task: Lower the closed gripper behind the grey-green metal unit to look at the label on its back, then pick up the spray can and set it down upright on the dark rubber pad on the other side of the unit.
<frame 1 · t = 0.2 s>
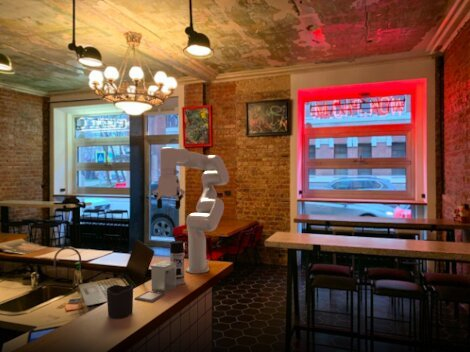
hand: (168, 208, 159), 36 cm above the bar counter, tool pointing down, fingers open, 9 cm apart
pen holder: (120, 314, 125), on the bar counter
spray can: (177, 283, 161), on the bar counter
unit: (164, 289, 152), on the bar counter
pad: (150, 297, 142), on the bar counter
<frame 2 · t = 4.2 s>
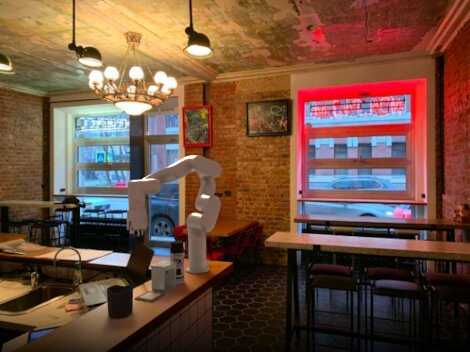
hand: (138, 243, 159), 20 cm above the bar counter, tool pointing down, fingers closed
nothing on the bar counter moved.
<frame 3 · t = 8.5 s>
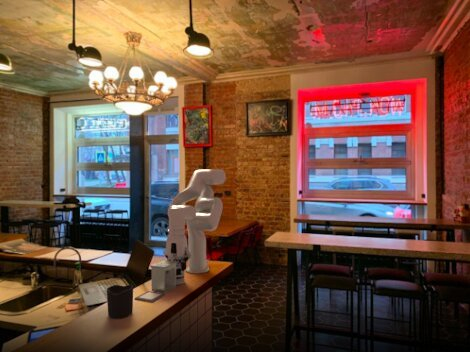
hand: (177, 269, 161), 7 cm above the bar counter, tool pointing down, fingers closed on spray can, 6 cm apart
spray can: (177, 283, 161), on the bar counter, touching gripper
everything else where it was.
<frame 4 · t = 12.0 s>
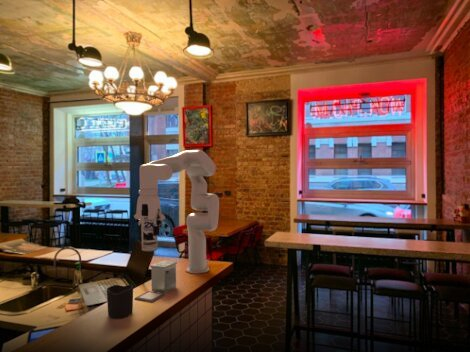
hand: (149, 234, 142), 27 cm above the bar counter, tool pointing down, fingers closed on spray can, 6 cm apart
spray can: (149, 250, 142), point 20 cm above the bar counter, touching gripper
everything else where it was.
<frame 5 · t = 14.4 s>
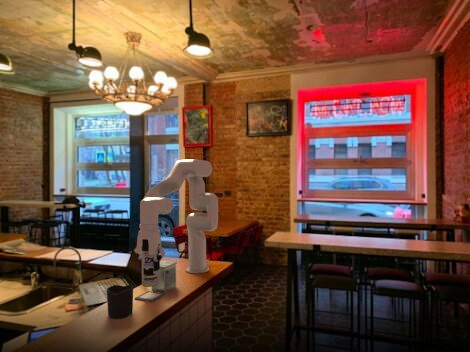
hand: (149, 269, 142), 12 cm above the bar counter, tool pointing down, fingers closed on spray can, 6 cm apart
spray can: (149, 285, 142), point 5 cm above the bar counter, touching gripper
everything else where it was.
when the fingers open (8 cm above the bar counter, at t = 15.8 s): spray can drops 1 cm, resting on pad.
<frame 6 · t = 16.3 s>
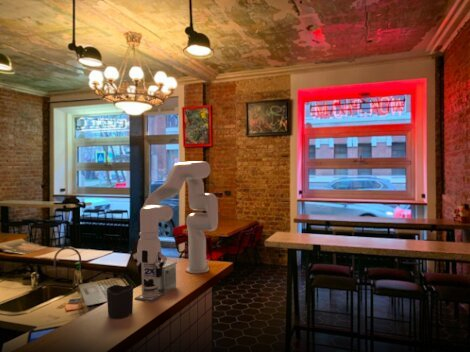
hand: (149, 275, 142), 9 cm above the bar counter, tool pointing down, fingers open, 9 cm apart
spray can: (150, 295, 142), point 1 cm above the bar counter, touching pad
everything else where it was.
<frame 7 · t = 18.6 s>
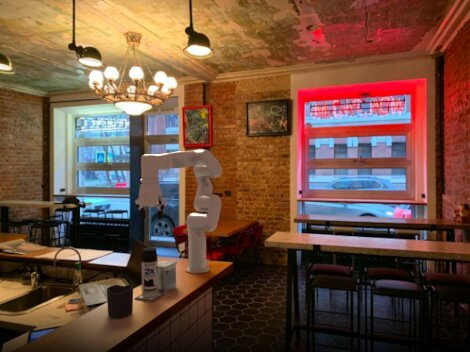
hand: (151, 218, 152), 32 cm above the bar counter, tool pointing down, fingers open, 9 cm apart
nothing on the bar counter moved.
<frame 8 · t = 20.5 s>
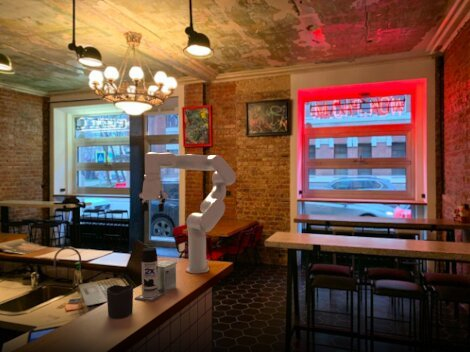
hand: (153, 211, 166), 34 cm above the bar counter, tool pointing down, fingers open, 9 cm apart
nothing on the bar counter moved.
at the end: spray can inside the target area on the pad (0.3 cm from its centre), point 0.5 cm above the pad's base; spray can tilted 0°; the gripper is holding nothing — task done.
